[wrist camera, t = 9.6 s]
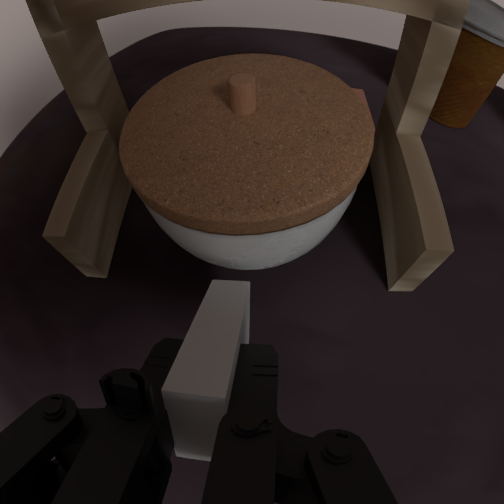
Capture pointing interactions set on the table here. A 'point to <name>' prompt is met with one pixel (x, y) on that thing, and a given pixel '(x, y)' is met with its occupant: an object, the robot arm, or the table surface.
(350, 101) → the lidded jar
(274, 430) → the robot arm
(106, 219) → the tunnel
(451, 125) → the disposable coffee cup
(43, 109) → the table surface
